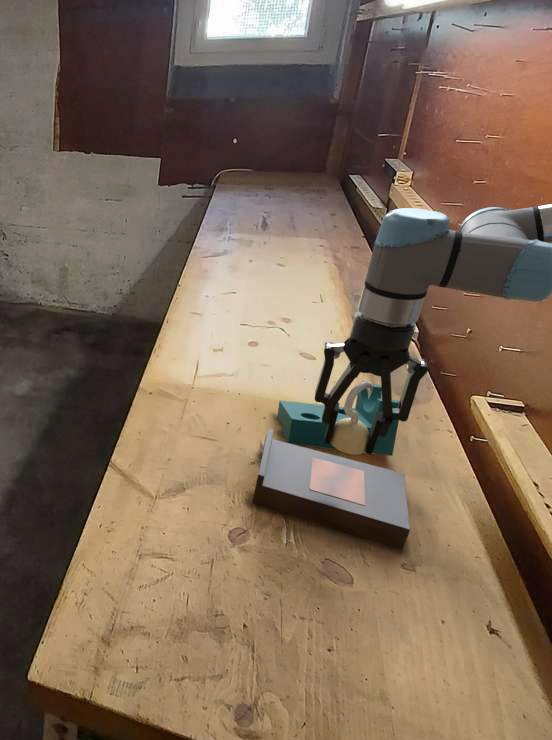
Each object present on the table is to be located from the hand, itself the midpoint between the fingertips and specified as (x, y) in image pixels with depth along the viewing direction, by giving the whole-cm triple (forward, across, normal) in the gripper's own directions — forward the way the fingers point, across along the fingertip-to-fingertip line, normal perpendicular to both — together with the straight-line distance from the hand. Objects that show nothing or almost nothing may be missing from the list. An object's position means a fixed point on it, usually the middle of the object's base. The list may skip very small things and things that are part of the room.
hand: (347, 443), depth 92 cm
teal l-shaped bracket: (+12, +1, -20) cm, 24 cm away
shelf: (+12, +1, 0) cm, 12 cm away
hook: (0, 0, 0) cm, 1 cm away
